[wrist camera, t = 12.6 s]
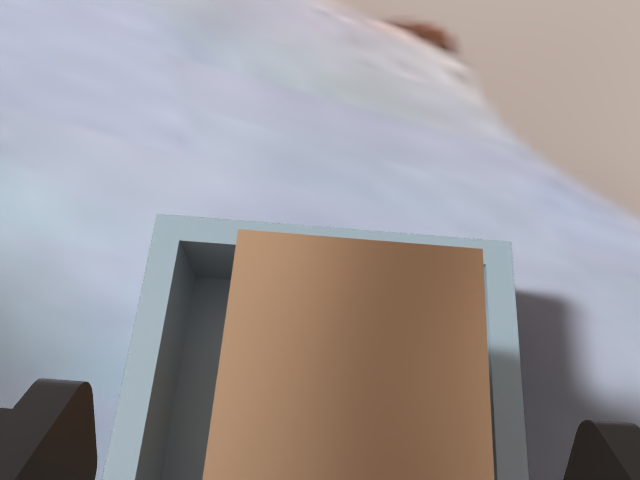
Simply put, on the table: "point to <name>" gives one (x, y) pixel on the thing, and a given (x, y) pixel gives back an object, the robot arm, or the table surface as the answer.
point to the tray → (207, 333)
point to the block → (352, 362)
